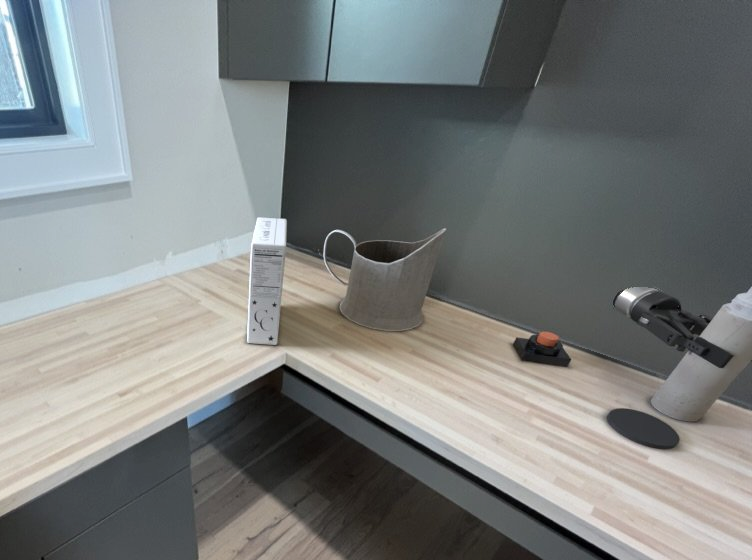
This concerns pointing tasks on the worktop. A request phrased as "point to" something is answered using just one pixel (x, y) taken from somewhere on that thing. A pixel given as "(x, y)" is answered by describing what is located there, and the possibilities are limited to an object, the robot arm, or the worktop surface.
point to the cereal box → (266, 280)
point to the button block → (541, 352)
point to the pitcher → (389, 281)
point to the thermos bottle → (709, 364)
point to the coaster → (643, 428)
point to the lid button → (547, 339)
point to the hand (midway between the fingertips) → (750, 362)
